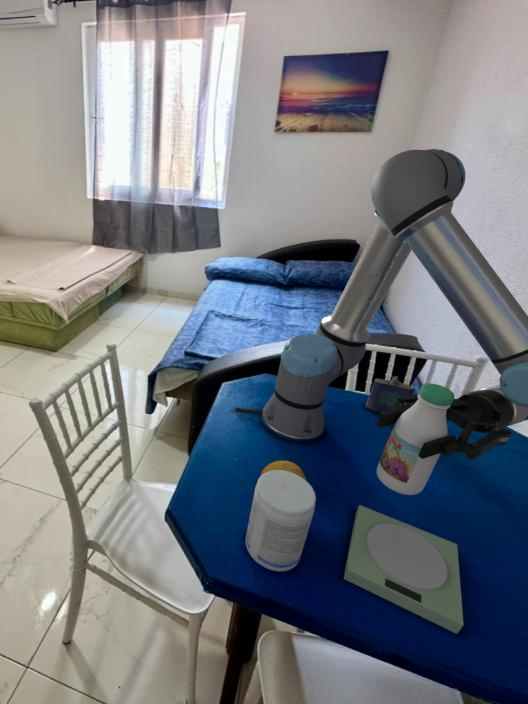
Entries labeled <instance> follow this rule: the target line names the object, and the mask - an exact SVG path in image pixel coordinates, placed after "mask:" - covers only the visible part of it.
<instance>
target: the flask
mask: <svg viewBox="0 0 528 704" xmlns="http://www.w3.org/2000/svg"><path fill="white" fill-rule="evenodd" d="M391 378H392V379H390V380H388V379H382V378H375V379H374V381H373V383H372V386H371V389H370V391H369V394H368V398H367V399H366V403H365V409H368V410H370V411H373V412H378V413H380V414H381V413H383V412H387V411H389V409H390V408H393V407H394V405H395V403H396V400H397V398H398V397H399V396H407V395H413V392H414V388H413V386H412V385H409V384H407V383H405V382H404V383H402V382H401V381H400V380H398V379H399V377H398V376H396V375H393V376H392V377H391Z"/></svg>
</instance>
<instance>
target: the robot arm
mask: <svg viewBox="0 0 528 704" xmlns="http://www.w3.org/2000/svg"><path fill="white" fill-rule="evenodd" d="M465 183H466V168H465V166H464V163H463V162H462V160H461V159H460V158H459V157H458V156H456V155H455V154H454V153H452V152H449V151H446V150H444V149H438V148H429V149H409V150H403V151H401V152H399V153H396V154H394V155H393V156H391V157H390V158H388V159H387V160H385V162H384V163H383V164H382V165H381V166H379V168H378V170H377V171H376V173H375V175H374V176H373V179H372V183H371V188H370V196H371V201H372V204H373V206H374V212H373V214H374V217H375V219H376V225H375V226H374V229H373V231H372V232H371V234H370V237H369V239H368V241H367V243H366V245H365V247H364V249H363V251H362V253H361V255H360V257H359V259H358V261H357V263H356V265H355V267H354V269H353V271H352V273H351V275H350V277H349V279H348V281H347V283H346V285H345V287H344V289H343V291H342V293H341V295H340V296H339V299H338V301H337V303H336V305H335V308H334V309H333V311H332V313H331V314H330V315H327V316H324V317H322V319H321V321H320V324H319V326H318V328H316V329H317V330H316V331H315V333H306V334H304V333H301V334H297V335H294V336H292V337H290V338H289V339H288V340H287V341H286V342H285V344H284V347H283V350H282V352H281V355H280V363H279V367H278V372H277V377H276V382H275V388H274V391H273V394H272V395H271V396H270V397H269V400H267V402H266V404H265V405H264V407H263V409H256V408H255V409H254V408H242V407H235V412H239V413H245V414H257V415H258V414H259V415H261V417H260V418H261V422H262V424H263V426H264V427H265V428H266V429H267V431H269V432H270V433H271V434H272V435H275V436H276V437H278V438H281V439H282V440H286V441H289V442H294V443H311V442H314V441H317V440H318V439H320V438H321V437H322V435H323V434H324V430H325V425H326V422H327V420H326V419H325V416H324V407H323V405H324V401H325V398H326V394H327V391H328V387H329V386H330V384H331V383H333V381H335V380H336V379H337V378H339V377H340V376H342V375H343V374H345V373H346V372H348V371H350V370H351V369H353V368H355V367H357V365H358V364H360V362H361V361H362V359H363V358H364V356H365V353H366V350H367V343H368V341H369V339H370V333H369V330H368V327H369V326H370V324H371V322H372V320H373V319H374V317H375V316H376V314H377V312H378V310H379V308H380V306H381V304H382V303H383V301H384V299H385V298H386V296H387V294H388V292H389V290H390V289H391V287H392V286H393V283H394V282H395V280H396V278H397V277H398V275H399V273H400V271H401V269H402V268H403V266H404V265H405V262H406V261H407V259H408V257H409V255H410V254H411V252H413V254H414V256H415V257H416V258H417V259H418V260H419V262H420V264H421V265H422V266H423V268H424V269H425V271H426V272H427V273H428V275H429V277H431V279H432V281H433V282H434V283H435V285H437V287H438V289H439V290H440V292H441V293H442V295H443V296H444V297H445V299H446V300H447V301H448V303H449V304H450V305H451V307H452V308H453V310H454V311H455V313H456V314H457V316H458V317H459V318H460V320H461V321H462V322H463V324H464V325H465V326H466V328H467V329H468V331H469V332H470V334H471V335H472V337H473V338H474V339H475V341H476V342H477V343H478V345H479V346H480V348H481V349H482V350H483V352H484V354H485V355H486V356H487V358H489V361H490V362H491V363H492V365H493V366H494V368H495V370H496V371H497V372H498V374H499V375H500V376H499V384H496V385H493V386H488V387H485V388H481V389H478V390H473V391H469V392H467V393H464V394H462V395H461V396H460V397H458V398H454V400H453V402H452V404H451V406H450V408H448V409H447V411H446V422H451V423H453V424H455V425H456V426H458V427H459V428H460V429H462V430H461V432H460V433H459V435H458V437H457V436H455V435H454V434H447V436H445V437H442V438H439V439H435V440H432V441H429V442H426V443H424V444H423V446H422V448H421V450H420V453H419V455H418V456H419V457H420V458H421V459H424V458H427V457H430V456H433V455H436V454H439V453H441V454H442V455H443V456H451V455H452V454H456V453H457V454H462V453H463V454H465V457H466V458H468V459H469V460H477V458H479V457H481V456H482V455H484V454H485V453H487V452H489V451H490V450H492V449H493V448H495V447H499V446H505V445H506V444H507V442H508V440H509V439H510V437H511V436H512V431H511V430H509V429H507V427H510V426H514V425H516V424H520V423H523V422H525V421H528V314H527V313H526V311H525V310H524V309H523V307H522V306H521V305H520V303H519V302H518V300H517V299H516V298H515V296H514V295H513V294H512V292H511V291H510V290H509V288H508V287H507V286H506V284H505V283H504V282H503V280H502V279H501V277H500V276H499V275H498V274H497V272H496V271H495V270H494V268H493V267H492V266H491V264H490V262H488V260H487V259H486V257H485V255H483V252H481V250H480V249H479V248H478V246H477V245H476V244H475V242H474V241H473V240H472V239H471V237H470V236H469V235H468V233H467V232H466V230H465V229H464V228H463V226H462V225H461V224H460V222H459V221H458V220H457V219H456V217H455V215H454V214H453V213H452V210H453V206H454V201H455V200H456V199H457V198H458V197H459V196H460V194H461V192H462V191H463V188H464V186H465ZM418 394H419V393H416V394H411V395H407V396H399V397H398V398H397V400H396V403H395V405H394V407H393V408H390V409H389V411H387V412H383V413H381V412H380V413H379V416H378V419H377V421H376V424H375V426H376V427H377V428H378V429H381V428H385V427H389V426H392V425H395V423H396V421H397V420H398V418H399V417H400V416H401V415H402V414H403V413H404V412H405V411H406V410H408V409H409V408H411V407H412V406H413V405H414V404H415V403H416V402H417V400H418ZM473 432H476V433H480V434H481V433H482V434H485V435H483V436H482V437H480V438H479V439H477V440H475V441H474V442H471V443H470V442H468V441H469V439H470V438H471V436H472V435H473Z"/></svg>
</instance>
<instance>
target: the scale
mask: <svg viewBox="0 0 528 704" xmlns="http://www.w3.org/2000/svg"><path fill="white" fill-rule="evenodd" d="M348 548H349V549H348V553H347V558H346V564H345V569H344V575H343V580H345V581H347V582H349V583H352V584H353V585H356V586H358V587H360V588H362V589H364V590H365V591H368V592H369V593H372V594H373V595H376V596H378V597H379V598H382V599H384V600H386V601H388V602H390V603H392V604H394V605H397V606H399V607H401V608H403V609H404V610H407V611H409V612H411V613H413V614H415V615H417V616H419V617H421V618H423V619H425V620H427V621H429V622H431V623H433V624H436V625H438V626H440V627H442V628H444V629H446V630H448V631H450V632H451V633H453V634H456V635H458V634H459V632H460V631H461V630H462V628H463V627H464V624H465V623H464V613H463V599H462V587H461V576H460V575H461V573H460V560H459V550H458V544H457V543H455V542H452V541H451V540H447V539H446V538H443V537H440V536H437V535H435V534H433V533H430V532H428V531H426V530H423V529H420V528H418V527H415V526H413V525H411V524H408V523H406V522H403V521H400V520H398V519H396V518H394V517H390V516H388V515H386V514H383V513H381V512H378V511H376V510H373V509H371V508H369V507H366V506H364V505H361V504H359V505H358V507H357V510H356V512H355V517H354V521H353V527H352V533H351V537H350V543H349V547H348Z"/></svg>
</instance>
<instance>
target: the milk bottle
mask: <svg viewBox="0 0 528 704" xmlns="http://www.w3.org/2000/svg"><path fill="white" fill-rule="evenodd" d="M417 394H418V400H417V402H416V403H415V404H414V405H413V406H412V407H411V408H409V409H408V410H406V411H405V412H404V413H403V414H402V415H401V416H400V417H399V418H398V420H397V421H396V423H395V424H393V425H394V426H393V427H392V429H391V431H390V435H389V437H388V439H387V441H386V443H385V447H384V448H383V451H382V454H381V456H380V459H379V462H378V464H377V467H376V476H377V478H378V479H379V481H380V482H381V483H382V484H383V485H384V486H385V487H386V488H388V489H389V490H392V491H393V492H396V493H398V494H402V495H407V496H414V495H417V494H421V492H422V491H423V490H424V488H425V487H426V485H427V483H428V481H429V479H430V477H431V474H432V473H433V471H434V469H435V467H436V464H437V462H438V460H439V458H440V456H441V454H442V453H439V454H436V455H433V456H430V457H427V458H424V459H421V458H420V457H419V456H418V455H419V453H420V450H421V448H422V446H423V444H424V443H426V442H429V441H432V440H435V439H439V438H442V437H445V436H448V424H447V421H446V411H447V409H448V408H450V406H451V404H452V402H453V400H454V399H455V393H454V392H453V390H451V389H449V388H448V387H445V386H444V385H440V384H437V383H424V384H422V385H421V387H420V389H419V392H418V393H417Z"/></svg>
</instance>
